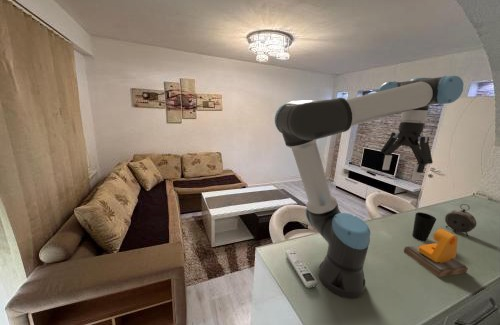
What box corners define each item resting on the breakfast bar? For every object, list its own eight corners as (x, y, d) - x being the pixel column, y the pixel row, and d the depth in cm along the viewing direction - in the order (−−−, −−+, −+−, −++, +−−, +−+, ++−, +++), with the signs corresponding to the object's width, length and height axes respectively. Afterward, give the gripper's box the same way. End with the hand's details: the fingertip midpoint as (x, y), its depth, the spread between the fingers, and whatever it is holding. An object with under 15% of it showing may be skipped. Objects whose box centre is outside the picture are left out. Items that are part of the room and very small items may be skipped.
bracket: (434, 248, 88) (442, 223, 85) (454, 259, 82) (463, 233, 78) (416, 251, 85) (423, 226, 82) (435, 264, 79) (444, 237, 75)
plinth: (437, 276, 76) (439, 270, 75) (403, 251, 89) (405, 245, 89) (466, 273, 79) (468, 266, 78) (429, 249, 92) (431, 243, 91)
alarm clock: (472, 236, 104) (482, 207, 100) (468, 239, 101) (479, 209, 97) (444, 225, 113) (453, 199, 109) (440, 227, 111) (449, 200, 107)
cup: (406, 234, 103) (412, 213, 100) (415, 232, 105) (422, 211, 102) (423, 244, 96) (430, 221, 93) (433, 241, 98) (440, 219, 95)
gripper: (457, 124, 66) (439, 185, 72) (392, 120, 90) (382, 166, 95) (439, 124, 65) (421, 185, 70) (378, 119, 89) (368, 166, 94)
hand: (399, 174), depth 83 cm, fingers open, 13 cm apart
